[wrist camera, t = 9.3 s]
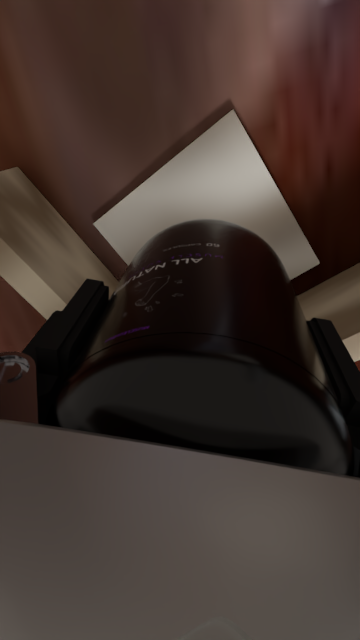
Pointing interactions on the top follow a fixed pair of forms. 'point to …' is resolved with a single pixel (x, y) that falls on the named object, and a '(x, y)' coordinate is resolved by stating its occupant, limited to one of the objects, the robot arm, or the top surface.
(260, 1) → the top surface
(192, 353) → the supplement bottle
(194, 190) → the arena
